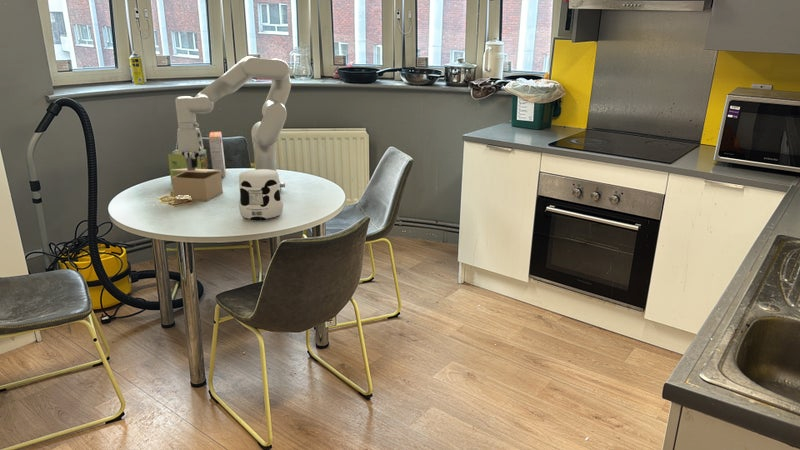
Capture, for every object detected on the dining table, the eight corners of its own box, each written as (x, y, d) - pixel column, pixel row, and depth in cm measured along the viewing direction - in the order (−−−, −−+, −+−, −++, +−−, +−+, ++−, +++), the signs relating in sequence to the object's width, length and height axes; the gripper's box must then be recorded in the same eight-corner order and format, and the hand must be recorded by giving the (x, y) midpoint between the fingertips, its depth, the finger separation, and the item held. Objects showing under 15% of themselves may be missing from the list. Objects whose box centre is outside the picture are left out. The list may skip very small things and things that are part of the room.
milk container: (271, 207, 257) (268, 166, 251) (291, 218, 244) (288, 174, 238) (233, 216, 247) (228, 173, 241) (251, 227, 234) (247, 181, 228)
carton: (222, 192, 279) (220, 171, 276) (207, 201, 266) (204, 179, 263) (191, 190, 283) (188, 169, 279) (174, 199, 270) (171, 177, 266)
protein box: (203, 185, 291) (199, 153, 286) (171, 185, 292) (167, 153, 286) (210, 180, 301) (206, 149, 296) (179, 180, 301) (175, 149, 296)
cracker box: (213, 171, 317) (209, 131, 310) (225, 170, 318) (221, 131, 311) (212, 178, 304) (208, 136, 297) (225, 177, 305) (221, 136, 298)
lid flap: (221, 171, 276) (221, 157, 275) (204, 172, 262) (204, 158, 261) (188, 169, 279) (188, 156, 279) (170, 170, 266) (170, 156, 265)
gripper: (208, 124, 264) (213, 166, 270) (175, 123, 267) (181, 164, 273) (199, 127, 257) (204, 170, 263) (166, 126, 260) (171, 168, 266)
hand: (192, 166), depth 268 cm, fingers closed
